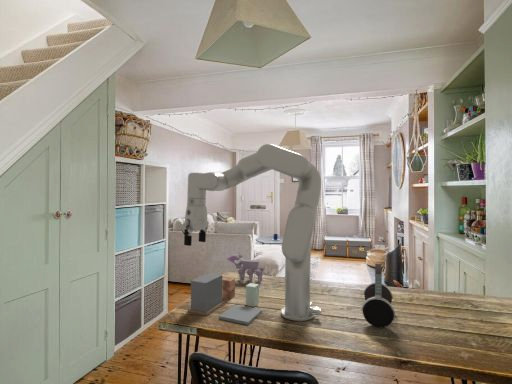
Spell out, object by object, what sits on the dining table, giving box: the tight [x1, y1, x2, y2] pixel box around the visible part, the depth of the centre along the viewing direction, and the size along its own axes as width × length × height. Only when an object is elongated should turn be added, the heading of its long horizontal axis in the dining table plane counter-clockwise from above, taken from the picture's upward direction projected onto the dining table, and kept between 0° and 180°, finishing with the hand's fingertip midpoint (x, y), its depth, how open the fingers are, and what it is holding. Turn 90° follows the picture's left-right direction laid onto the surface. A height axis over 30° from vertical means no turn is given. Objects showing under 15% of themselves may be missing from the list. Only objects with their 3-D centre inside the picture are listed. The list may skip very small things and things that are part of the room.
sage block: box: [245, 282, 260, 308], centre depth 124 cm, size 4×4×8 cm
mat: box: [218, 304, 263, 326], centre depth 112 cm, size 12×12×1 cm
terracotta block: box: [222, 277, 236, 300], centre depth 132 cm, size 4×4×8 cm
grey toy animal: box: [226, 253, 265, 285], centre depth 157 cm, size 20×11×14 cm, turn 76°
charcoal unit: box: [187, 273, 226, 316], centre depth 120 cm, size 9×13×12 cm
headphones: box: [361, 262, 396, 328], centre depth 111 cm, size 11×20×20 cm, turn 158°
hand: (195, 243), depth 124 cm, fingers open, 9 cm apart
